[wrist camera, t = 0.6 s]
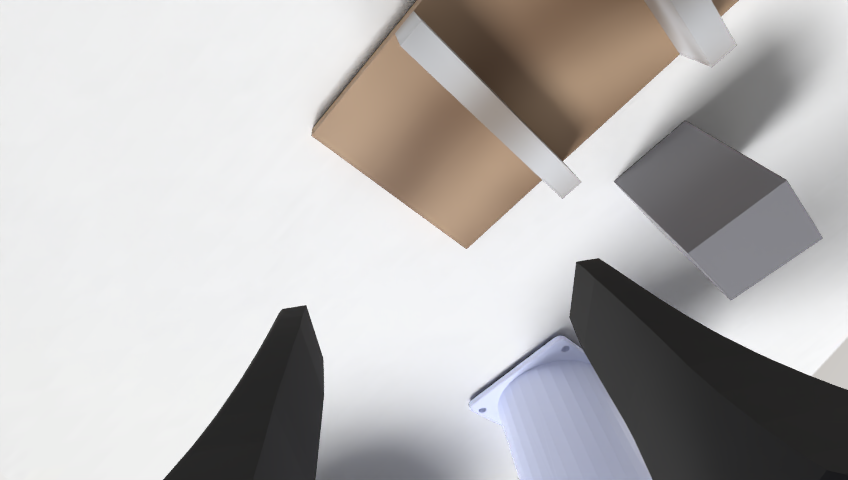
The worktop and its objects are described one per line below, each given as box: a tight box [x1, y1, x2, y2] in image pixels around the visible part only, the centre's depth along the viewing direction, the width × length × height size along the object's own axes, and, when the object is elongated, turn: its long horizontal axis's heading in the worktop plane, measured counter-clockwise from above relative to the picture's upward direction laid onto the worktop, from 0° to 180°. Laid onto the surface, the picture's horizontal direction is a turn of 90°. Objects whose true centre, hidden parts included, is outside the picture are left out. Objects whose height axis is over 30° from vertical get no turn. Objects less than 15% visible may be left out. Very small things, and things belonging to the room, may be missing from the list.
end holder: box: [311, 0, 739, 249], centre depth 17 cm, size 9×18×3 cm, turn 137°
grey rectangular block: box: [614, 121, 823, 300], centre depth 20 cm, size 4×4×6 cm
